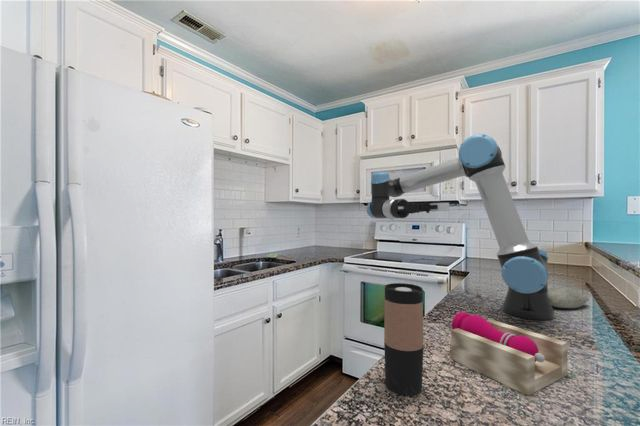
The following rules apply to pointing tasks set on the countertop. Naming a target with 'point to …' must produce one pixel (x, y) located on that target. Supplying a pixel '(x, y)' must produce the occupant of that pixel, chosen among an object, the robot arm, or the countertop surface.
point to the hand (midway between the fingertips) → (447, 206)
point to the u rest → (511, 358)
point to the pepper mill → (495, 334)
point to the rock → (566, 298)
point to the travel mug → (403, 338)
